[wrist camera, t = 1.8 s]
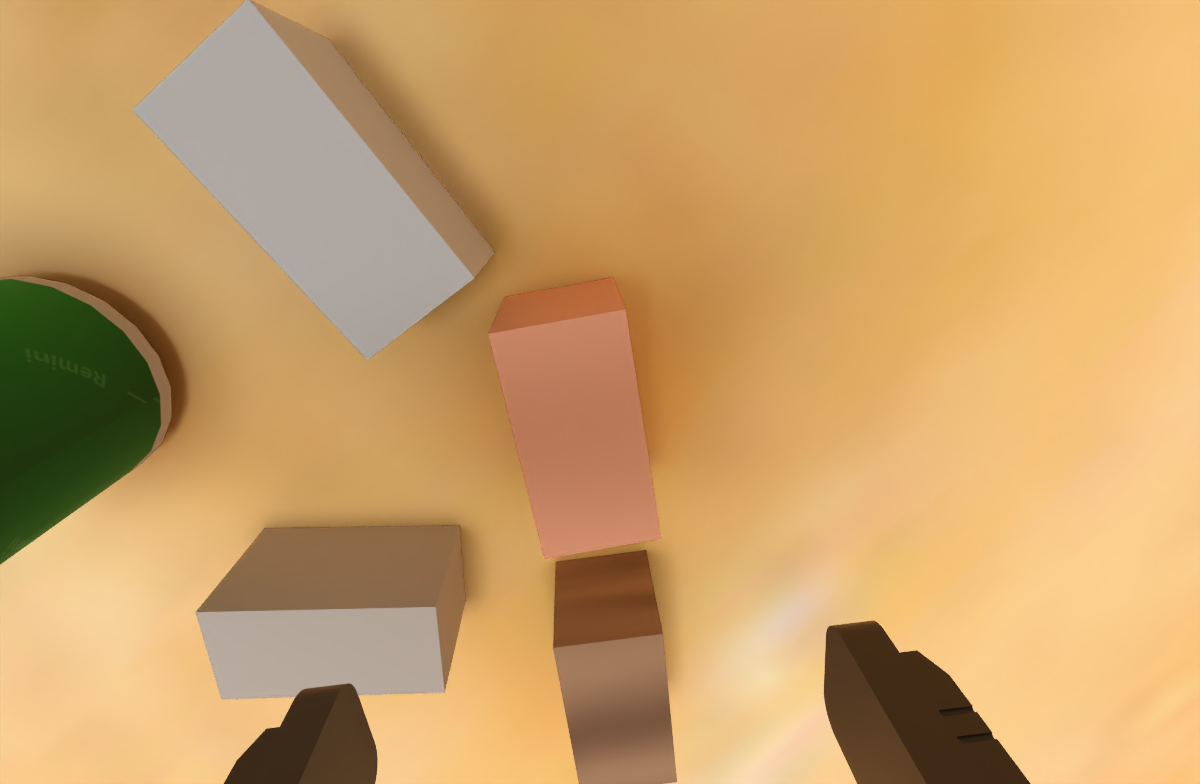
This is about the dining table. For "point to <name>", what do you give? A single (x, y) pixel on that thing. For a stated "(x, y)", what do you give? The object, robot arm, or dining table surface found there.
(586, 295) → the terracotta brick
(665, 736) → the walnut brick
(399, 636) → the slate brick
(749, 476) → the dining table surface
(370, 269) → the blue-grey brick
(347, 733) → the robot arm
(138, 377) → the soda can
